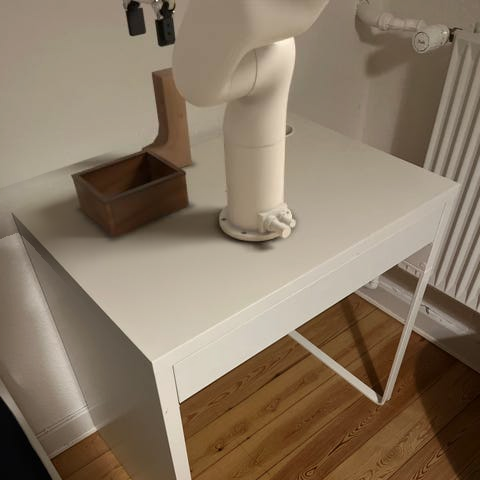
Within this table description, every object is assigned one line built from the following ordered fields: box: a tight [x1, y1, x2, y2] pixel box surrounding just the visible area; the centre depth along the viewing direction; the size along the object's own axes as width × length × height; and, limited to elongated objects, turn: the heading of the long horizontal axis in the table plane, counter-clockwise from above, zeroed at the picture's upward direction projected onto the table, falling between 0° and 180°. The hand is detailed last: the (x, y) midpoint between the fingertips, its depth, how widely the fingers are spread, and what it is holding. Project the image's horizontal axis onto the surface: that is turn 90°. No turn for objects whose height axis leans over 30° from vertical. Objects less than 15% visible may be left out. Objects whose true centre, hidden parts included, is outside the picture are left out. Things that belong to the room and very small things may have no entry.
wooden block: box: [141, 67, 193, 169], centre depth 98 cm, size 9×4×18 cm, turn 123°
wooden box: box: [70, 149, 190, 238], centre depth 91 cm, size 13×16×7 cm
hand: (152, 39), depth 88 cm, fingers open, 9 cm apart
